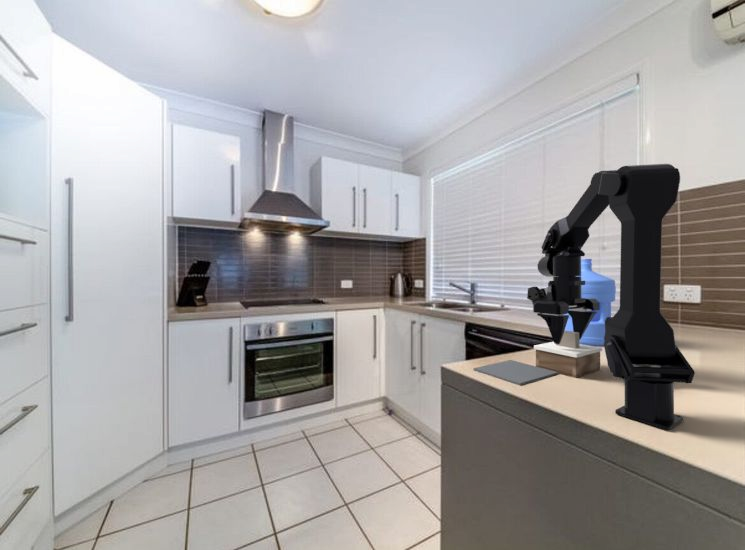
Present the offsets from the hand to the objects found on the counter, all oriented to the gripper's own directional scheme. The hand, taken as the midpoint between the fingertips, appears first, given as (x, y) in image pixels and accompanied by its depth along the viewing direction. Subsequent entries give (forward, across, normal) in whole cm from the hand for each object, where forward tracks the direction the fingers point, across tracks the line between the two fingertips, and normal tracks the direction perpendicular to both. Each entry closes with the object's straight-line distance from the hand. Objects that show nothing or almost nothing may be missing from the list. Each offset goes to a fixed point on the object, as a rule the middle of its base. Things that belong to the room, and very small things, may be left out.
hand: (567, 341), depth 73 cm
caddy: (+6, 0, 0) cm, 7 cm away
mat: (+6, +13, -5) cm, 15 cm away
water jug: (+7, -38, -13) cm, 41 cm away
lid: (+3, 0, 0) cm, 3 cm away
